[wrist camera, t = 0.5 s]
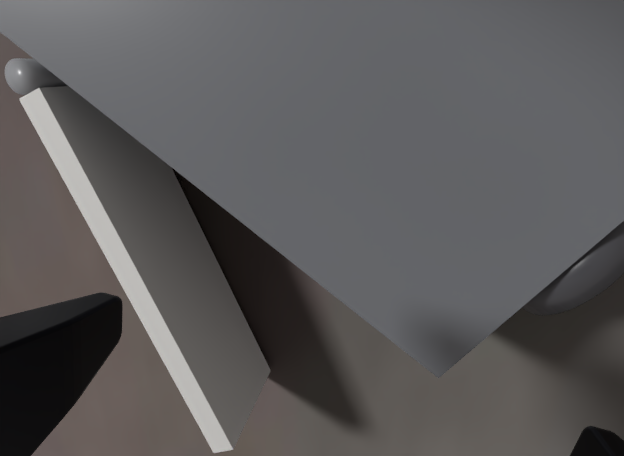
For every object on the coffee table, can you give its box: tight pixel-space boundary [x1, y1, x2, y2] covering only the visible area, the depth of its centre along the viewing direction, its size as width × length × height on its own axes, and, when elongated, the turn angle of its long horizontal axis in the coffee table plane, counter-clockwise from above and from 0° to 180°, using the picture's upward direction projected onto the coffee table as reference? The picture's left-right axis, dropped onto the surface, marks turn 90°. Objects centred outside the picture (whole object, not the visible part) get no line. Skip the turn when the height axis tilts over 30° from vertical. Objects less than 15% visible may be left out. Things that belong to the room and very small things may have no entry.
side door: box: [5, 58, 271, 453], centre depth 20 cm, size 17×2×6 cm, turn 23°
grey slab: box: [0, 0, 624, 378], centre depth 16 cm, size 21×12×7 cm, turn 53°
